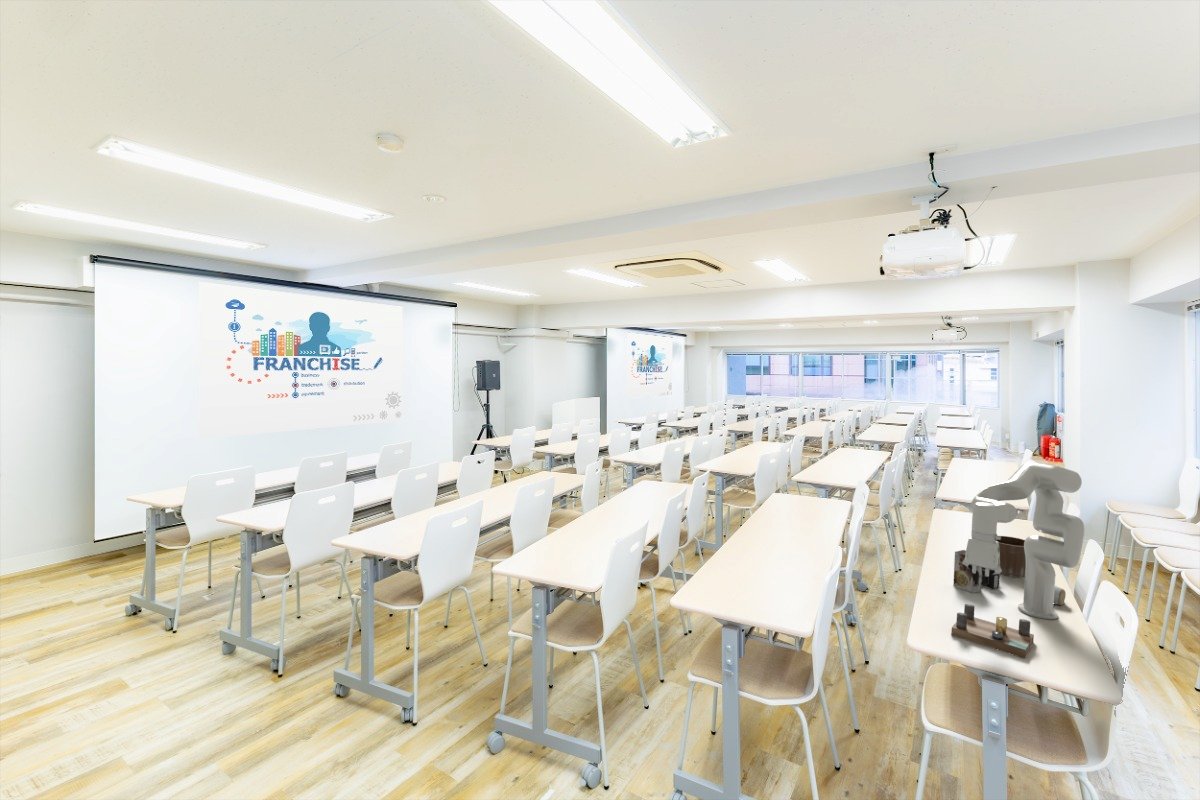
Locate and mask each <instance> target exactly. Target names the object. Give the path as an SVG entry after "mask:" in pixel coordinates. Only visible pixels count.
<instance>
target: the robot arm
mask: <svg viewBox="0 0 1200 800" xmlns="http://www.w3.org/2000/svg"><path fill="white" fill-rule="evenodd" d="M1081 487H1082V477H1081V475H1080V474H1079V473H1078V472H1077V471H1074V470H1071V469H1068V468H1065V467H1061V466H1059V465H1058V466H1057V465H1054V464H1053V465H1052V464H1045V463H1039V462H1031V461H1030V462H1026V463H1023V464H1021V466H1020V467H1019V468H1018V469H1017V470H1016V471H1015V472H1014V473H1013V474H1012V475H1011V476H1009V478H1008V479H1007V480H1006V481H1003V482H999V483H996V484H993V485H990V486H987V487H985V488H983V489H981V490H979V492H978V493H977V494H976V495H975V496H974V497H973V499H972V500H971V502H970V507H969V509H970V511H971V513H972V516H971V517H972V518H971V532H970V534H971V535H970V536H969V537H968V541H967V544H966V549H965V550H966V555H965V559H964V560H963V562H962V564H964V565H965V566H967V567H969V569H970V570H971V571H972V573H973V581H975V582H974V584H978V583H979V572H978V566H979V567H984V568H985V574H984V576H983V585H982V587H986V585H987V584H989V576H990V575H992V574H994V573H1001V572H1002V569H1001V567H1000V549H999V542H998V541H996V540H1001V536H1002V535H998V534H997V528H998V523H1003V524H1007V523H1008V524H1009V523H1011V522H1013V521H1014V520H1016V518H1017V515H1018V511H1017V509H1016V507H1015V506H1014V505H1013V504H1011V503H1010V502H1007V501H1019V500H1025V499H1027V498H1029V497H1030V496H1031V495H1032V493H1033V492H1034V493H1035V497H1036V498H1035V499H1036V500H1035V506H1034V512H1033V519H1032V527H1033V528H1034V530H1035V531H1037V532H1038V533H1042V534H1046V535H1049V536H1054V537H1057V538H1062V539H1063V541H1062V540H1058V539H1054V538H1050V537H1048V536H1047V537H1046V536H1042V535H1037V534H1036V535H1029V536H1027V537H1026V538H1025V539H1024V540H1025V542H1024V550H1025V557H1026V570H1025V576H1024V589H1023V602H1021V603H1019V604H1018V606H1017V608H1018V611H1020V612H1022V613H1023V614H1026V615H1028V616H1031V617H1033V618H1039V619H1043V620H1056V619H1058V617H1059V614H1058V612H1057V611H1056V610H1054V604H1053V603H1054V589H1055V586H1056V576H1057V575H1056V571H1055V568H1054V566H1053V565H1052V564H1054V565H1057V566H1060V567H1064V568H1070V569H1072V568H1075V567H1077V566H1078V565H1079V563H1080V559H1081V555H1082V548H1083V542H1084V536H1085V525H1084V522H1083V520H1082V519H1081V518H1079V517H1078V516H1076V515H1071V514H1067V513H1063V508H1064V497H1063V496H1062V495H1061V493H1060V492H1064V493H1069V494H1071V493H1075V492H1077V491H1079V490H1080V489H1081ZM1005 501H1006V502H1005ZM991 569H992V570H991Z"/></svg>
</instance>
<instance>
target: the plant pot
mask: <svg viewBox="0 0 1200 800" xmlns="http://www.w3.org/2000/svg"><path fill="white" fill-rule="evenodd" d="M1000 536H1001V540H996V541H998V542H999V549H1000V567H1001V569H1002V572H1001V573H1000V575H1002V574H1003V576H1005V575H1006V576H1007V577H1013V578H1023V577H1024V578H1025V570H1026V557H1025V550H1024V542H1025V540H1026V539H1022V538H1019V537H1014V536H1008V535H1000Z"/></svg>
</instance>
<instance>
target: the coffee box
mask: <svg viewBox="0 0 1200 800" xmlns="http://www.w3.org/2000/svg"><path fill="white" fill-rule="evenodd" d="M965 555H966V549H962V550H961V549H960V550H957V551H954V562H953V563H954V565H953V567H954V568H953V587H956V588H958V589H961V590H964V591H965V592H966V591H967V592H969V593H972V594H974V593H979V592H980V593H981V592H982V587H983V585H982V569H983V567H979V566H978V572H979V583H978V584H974V582H975V581H973V573H972V571H971V570H970V569H969V567H967V566H965V565H964V564H962V562H963V560H964V559H965Z"/></svg>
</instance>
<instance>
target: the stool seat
mask: <svg viewBox="0 0 1200 800" xmlns="http://www.w3.org/2000/svg"><path fill="white" fill-rule="evenodd" d="M963 608H964V611H963V612H956V621H955V623H954V624H953V625H952V626H951V633H950V635H951V636H953V637H957V638H959V639H962V640H965V639H966V641H968V640H969V641H968V642H972V643H975V644H979V645H981V644H982V645H981V646H984V645H985V647H987V646H988V648H990V647H991V649H993V648H994V650H997V649H998V650H997V651H1000V652H1004V653H1007V654H1009V653H1010V654H1009V655H1012V654H1013V655H1012V656H1016V657H1019V658H1022V659H1026V658H1027V657H1028V654H1029V652H1030V650H1031V648H1032V646H1033V645H1034V641H1035V640H1034V638H1035V637H1034V636H1035V635H1034V634H1033V633H1031V621H1030V620H1027V619H1024V618H1019V620H1018V629H1016V628H1012V627H1008V626H1007V632H1006V634H1003V640H997V639H994V638H993V637H992V631H996V622H992V621H989V620H985V619H981V618H979V617H975V605H973V604H971V603H965V604H964V607H963Z"/></svg>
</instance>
